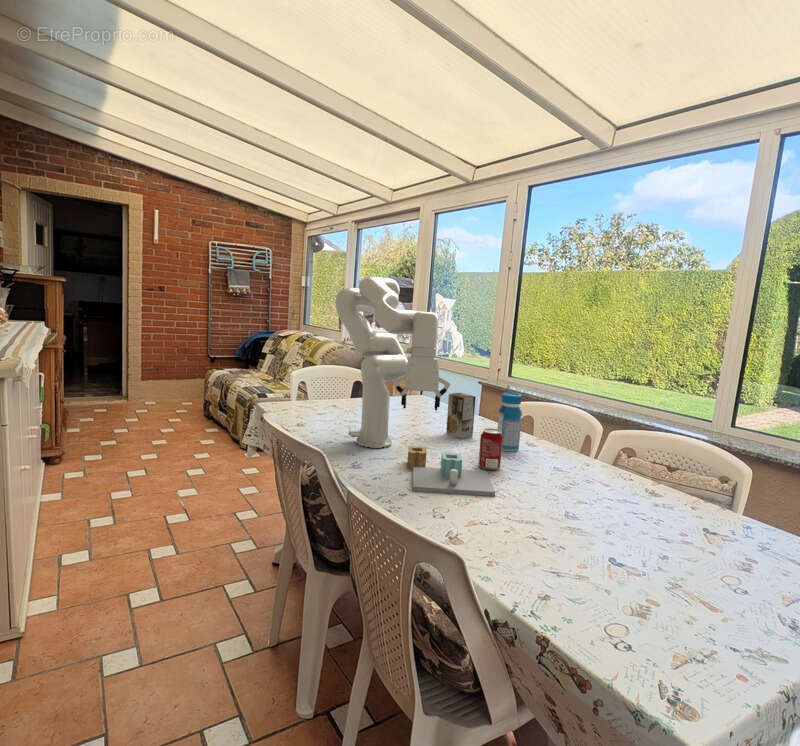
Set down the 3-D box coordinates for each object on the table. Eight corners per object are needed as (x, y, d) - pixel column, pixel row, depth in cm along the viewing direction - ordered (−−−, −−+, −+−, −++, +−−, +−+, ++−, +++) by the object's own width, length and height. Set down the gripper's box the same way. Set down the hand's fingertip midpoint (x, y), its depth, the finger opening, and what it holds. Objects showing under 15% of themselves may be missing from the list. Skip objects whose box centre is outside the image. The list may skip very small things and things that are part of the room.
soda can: (499, 472, 144) (503, 434, 143) (477, 469, 146) (480, 432, 144) (499, 465, 151) (503, 429, 149) (478, 462, 152) (481, 426, 151)
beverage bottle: (509, 453, 164) (515, 397, 161) (490, 447, 170) (495, 393, 167) (523, 449, 170) (529, 395, 167) (504, 443, 176) (509, 391, 173)
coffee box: (473, 437, 182) (476, 396, 180) (460, 439, 179) (463, 397, 176) (457, 431, 190) (460, 392, 187) (445, 433, 186) (448, 393, 184)
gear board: (412, 490, 126) (414, 468, 125) (413, 470, 142) (414, 450, 141) (494, 496, 126) (496, 474, 125) (485, 474, 142) (487, 454, 141)
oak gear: (407, 468, 143) (408, 452, 143) (407, 460, 151) (408, 445, 150) (425, 469, 143) (426, 453, 143) (424, 461, 150) (425, 446, 150)
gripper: (394, 352, 138) (391, 409, 141) (453, 355, 138) (449, 412, 140) (395, 350, 146) (392, 404, 148) (451, 353, 145) (447, 407, 148)
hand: (420, 408), depth 144 cm, fingers open, 9 cm apart
